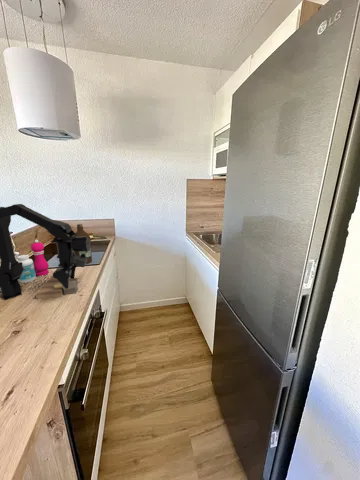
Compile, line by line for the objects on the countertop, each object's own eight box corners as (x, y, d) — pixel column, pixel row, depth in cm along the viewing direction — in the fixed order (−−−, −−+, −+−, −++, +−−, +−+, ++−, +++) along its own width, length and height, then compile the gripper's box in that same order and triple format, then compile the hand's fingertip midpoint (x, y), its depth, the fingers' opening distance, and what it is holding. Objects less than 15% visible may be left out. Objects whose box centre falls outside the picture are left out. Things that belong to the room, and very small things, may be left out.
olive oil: (72, 262, 136) (67, 224, 129) (89, 258, 143) (84, 222, 136) (79, 266, 128) (73, 226, 122) (95, 262, 136) (91, 224, 129)
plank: (61, 296, 94) (60, 291, 93) (36, 299, 92) (35, 293, 91) (74, 275, 116) (74, 271, 115) (55, 277, 114) (54, 272, 113)
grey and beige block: (76, 293, 97) (74, 281, 95) (55, 295, 95) (53, 283, 93) (78, 289, 100) (76, 278, 99) (58, 291, 99) (56, 279, 97)
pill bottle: (16, 284, 105) (10, 259, 102) (22, 278, 112) (17, 254, 109) (33, 282, 107) (28, 257, 104) (38, 276, 114) (34, 253, 111)
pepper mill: (52, 271, 121) (47, 238, 116) (43, 276, 114) (37, 241, 109) (41, 271, 122) (35, 237, 116) (31, 276, 115) (24, 241, 109)
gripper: (79, 257, 86) (84, 291, 90) (88, 244, 103) (92, 274, 107) (49, 259, 83) (55, 294, 87) (64, 246, 101) (68, 275, 105)
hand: (69, 283), depth 97 cm, fingers open, 9 cm apart
